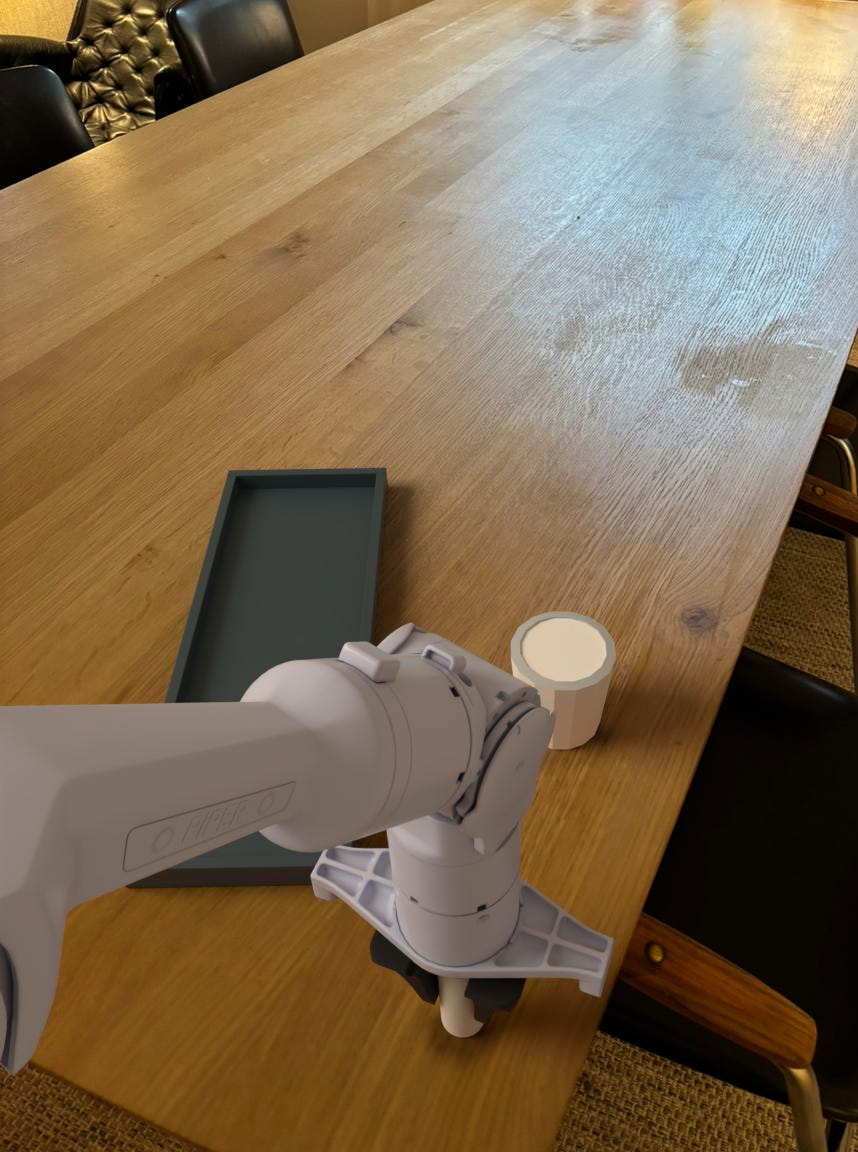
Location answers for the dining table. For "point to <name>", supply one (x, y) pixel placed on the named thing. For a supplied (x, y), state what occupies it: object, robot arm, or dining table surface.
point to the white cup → (566, 671)
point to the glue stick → (457, 1007)
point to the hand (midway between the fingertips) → (462, 994)
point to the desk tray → (276, 618)
